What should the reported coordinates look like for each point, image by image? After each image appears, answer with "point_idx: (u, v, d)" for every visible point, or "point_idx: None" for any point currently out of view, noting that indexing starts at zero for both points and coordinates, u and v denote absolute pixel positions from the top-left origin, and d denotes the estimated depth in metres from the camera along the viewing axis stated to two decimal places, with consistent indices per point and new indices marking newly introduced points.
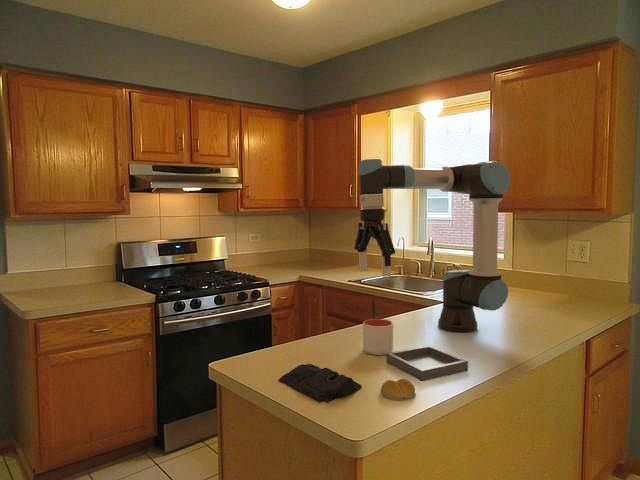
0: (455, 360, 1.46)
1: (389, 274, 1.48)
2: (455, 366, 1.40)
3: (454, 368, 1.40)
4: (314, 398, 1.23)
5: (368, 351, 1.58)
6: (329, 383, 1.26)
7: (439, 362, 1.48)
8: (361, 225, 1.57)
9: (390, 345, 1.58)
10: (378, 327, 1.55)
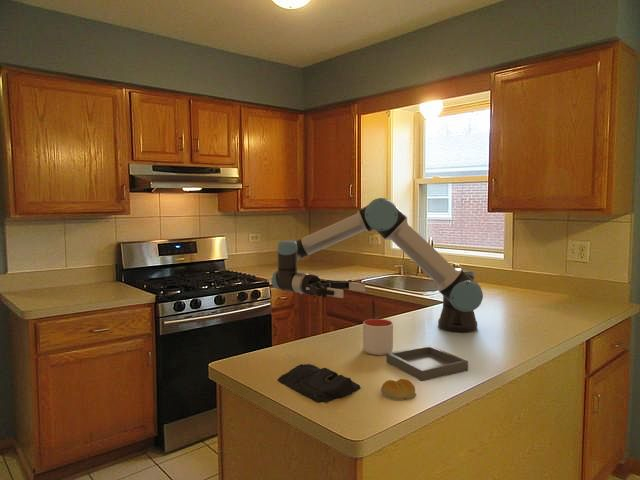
0: (455, 360, 1.46)
1: (340, 291, 1.60)
2: (455, 366, 1.40)
3: (454, 368, 1.40)
4: (312, 398, 1.23)
5: (368, 351, 1.58)
6: (327, 383, 1.26)
7: (439, 362, 1.48)
8: None
9: (390, 345, 1.58)
10: (378, 327, 1.55)
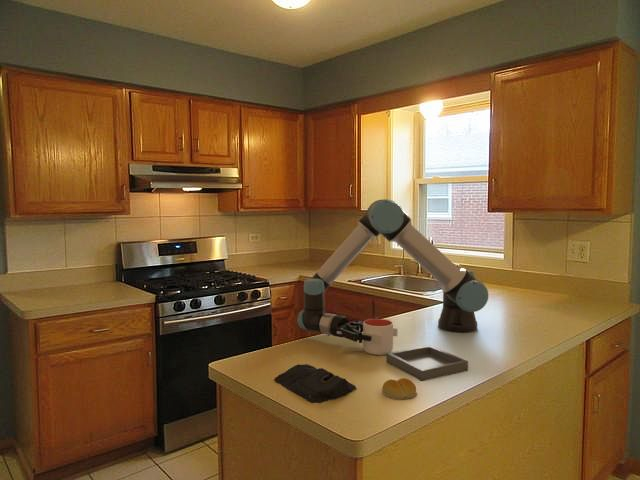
0: (455, 360, 1.46)
1: (378, 337, 1.54)
2: (455, 366, 1.40)
3: (454, 368, 1.40)
4: (307, 398, 1.23)
5: (368, 351, 1.58)
6: (323, 384, 1.26)
7: (439, 362, 1.48)
8: None
9: (390, 345, 1.58)
10: (378, 327, 1.55)
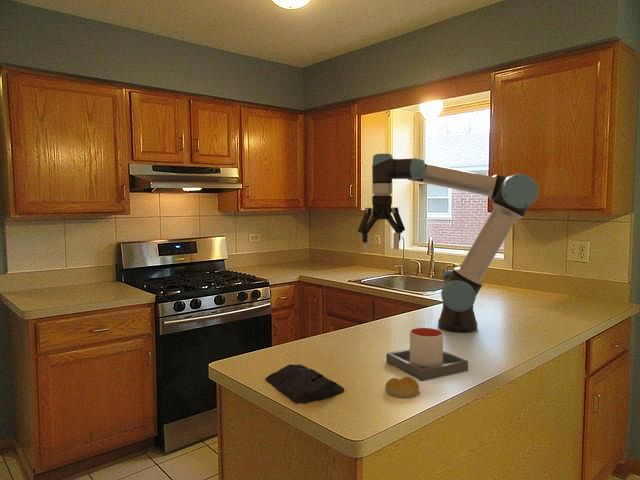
0: (455, 360, 1.46)
1: (367, 250, 1.79)
2: (455, 366, 1.40)
3: (454, 368, 1.40)
4: (292, 399, 1.22)
5: (416, 364, 1.43)
6: (309, 385, 1.25)
7: None
8: None
9: (441, 357, 1.43)
10: (428, 337, 1.41)
